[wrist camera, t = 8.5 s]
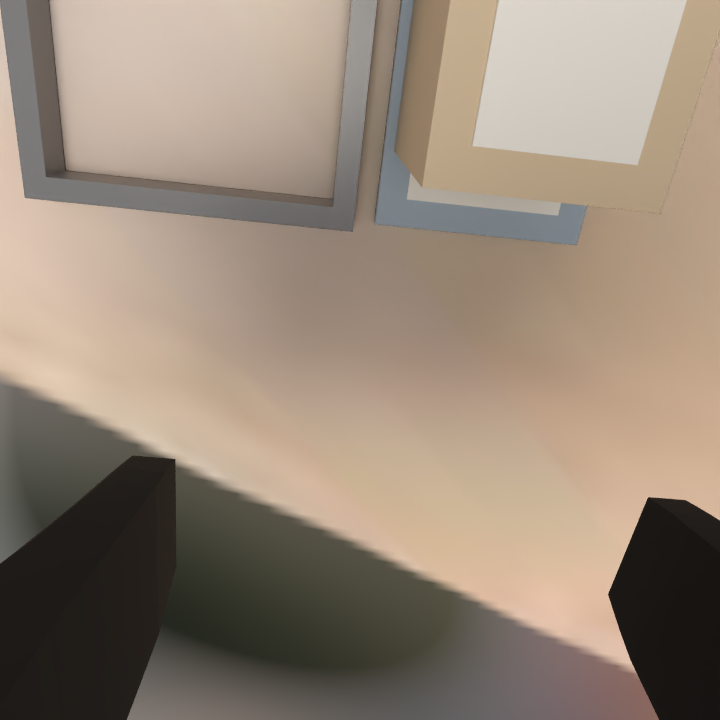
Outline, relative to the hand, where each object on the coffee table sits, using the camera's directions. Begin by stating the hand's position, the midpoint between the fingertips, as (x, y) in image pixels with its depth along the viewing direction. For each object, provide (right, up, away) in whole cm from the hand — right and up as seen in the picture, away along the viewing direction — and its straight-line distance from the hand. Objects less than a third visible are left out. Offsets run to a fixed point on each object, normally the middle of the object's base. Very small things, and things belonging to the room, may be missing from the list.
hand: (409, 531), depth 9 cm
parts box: (+3, +11, +6) cm, 13 cm away
